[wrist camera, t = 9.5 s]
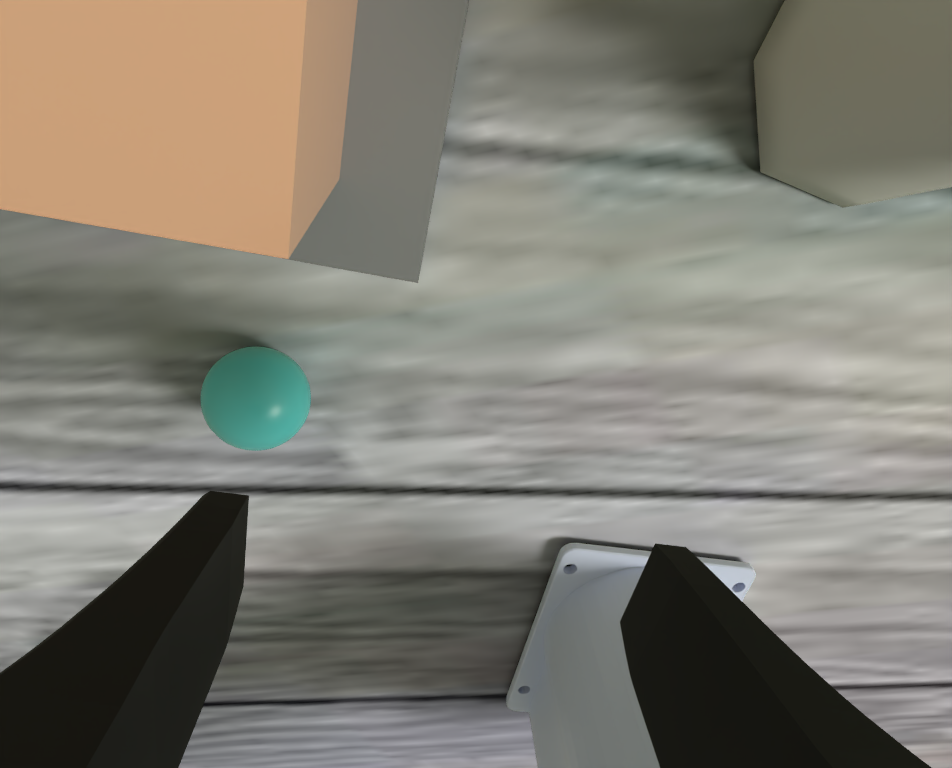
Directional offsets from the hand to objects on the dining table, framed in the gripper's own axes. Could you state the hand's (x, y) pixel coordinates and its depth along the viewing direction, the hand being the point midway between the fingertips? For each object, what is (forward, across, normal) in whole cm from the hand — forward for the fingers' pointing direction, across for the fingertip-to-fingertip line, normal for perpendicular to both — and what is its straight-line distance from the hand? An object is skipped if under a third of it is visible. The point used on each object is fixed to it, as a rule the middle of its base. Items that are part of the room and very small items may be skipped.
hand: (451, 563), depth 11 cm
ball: (+9, +5, +2) cm, 11 cm away
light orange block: (+9, +6, -7) cm, 13 cm away
